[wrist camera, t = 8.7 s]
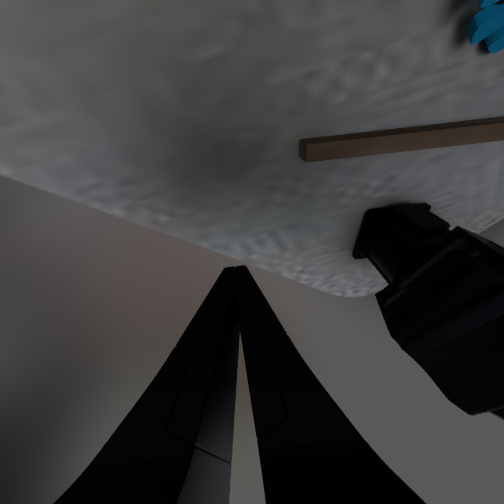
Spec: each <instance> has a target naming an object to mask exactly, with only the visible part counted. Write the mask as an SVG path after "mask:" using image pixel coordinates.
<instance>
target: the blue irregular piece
mask: <svg viewBox="0 0 504 504" xmlns="http://www.w3.org/2000/svg"><path fill="white" fill-rule="evenodd" d="M497 1H499V0H478V2H479V5H480V7H481V8H484V9H482V10H481V11H480V12H478V13H477V14H476V15H475V16H474V17H473V19H472V20H471V22H470V25H469V28H468V36H469V39H470V42H471V45H472V44H475V43H478V42H479V41H481V40H483V39H484V38H485V41H486V44H487V47H488V50H489V51H490V52H492V53H496V52H498V51H500V50H501V49H503V48H504V4H501V5H499V4H494V3H496V2H497ZM492 4H494V5H492ZM485 7H486V8H485Z"/></svg>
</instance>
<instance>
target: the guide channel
mask: <svg viewBox="0 0 504 504" xmlns="http://www.w3.org/2000/svg"><path fill="white" fill-rule="evenodd" d="M501 140H504V117H496V118H487V119H479V120H470V121H461V122H452V123H443V124H434V125H425V126H416V127H408V128H399V129H390V130H381V131H372V132H363V133H354V134H345V135H336V136H328V137H319V138H310V139H301V140H300V148H299V156H300V157H301V158H302V159H303V160H304V161H305V162H313V161H322V160H331V159H340V158H349V157H357V156H366V155H375V154H384V153H393V152H402V151H411V150H420V149H429V148H438V147H447V146H456V145H465V144H474V143H483V142H492V141H501Z"/></svg>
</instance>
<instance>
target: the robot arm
mask: <svg viewBox="0 0 504 504" xmlns="http://www.w3.org/2000/svg"><path fill="white" fill-rule="evenodd" d="M430 209H431V206H430V205H429V204H427V203H423V204H417V203H414V204H405V205H395V206H391V207H387V208H377V209H370V210H368V211H367V212H366V213H365V216H364V219H363V222H362V225H361V228H360V232H359V235H358V238H357V241H356V244H355V247H354V251H353V254H352V256H353V257H354V259H362V258H368V259H369V260H370V261H371V263H372V264H373V265H374V266H375V268H376V269H377V270H378V271H379V273H380V274H381V275H382V276H383V278H384V279H385V280H386V281H387V283H388V284H389V285H388V286H386V287H385V288H384V289H383V290H382V291H379V292H378V293H376V294H375V296H376V299H377V302H378V304H379V307H380V310H381V312H382V315H383V318H384V320H385V323H386V325H387V328H388V330H389V332H390V335H391V337H392V338H393V339H394V340H395V341H396V342H397V343H398V344H399V345H400V347H401V349H402V350H403V351H405V352H406V353H407V354H408V355H409V356H411V357H412V358H413V359H414V360H415V361H416V362H417V363H418V364H419V365H420V366H421V367H422V368H423V369H424V370H425V371H426V373H427V374H428V375H429V376H430V377H431V379H432V380H433V381H434V382H435V384H436V385H437V386H438V388H439V389H440V390H441V391H442V393H443V394H444V395H445V396H446V398H447V399H448V400H449V401H451V402H452V403H453V404H455V405H456V406H458V407H459V408H460V409H462V410H463V411H464V412H466V413H467V414H469V415H477V414H481V413H485V412H490V413H492V414H494V415H496V416H498V417H499V418H501V419H503V420H504V248H503V247H502V246H500V245H498V244H496V243H494V242H493V241H491V240H488V239H486V238H484V237H482V236H479V235H477V234H475V233H473V232H470V231H468V230H466V229H464V228H462V227H459V226H456V227H455V228H454V229H453V230H452V231H451V230H449V227H450V225H449V223H448V222H446V221H444V220H443V219H441V218H440V217H438V216H436V215H435V214H433V213H431V212H430ZM370 214H372V215H370ZM240 333H241V339H242V346H243V352H244V359H245V365H246V372H247V378H248V384H249V391H250V397H251V404H252V410H253V417H254V423H255V430H256V436H257V439H258V440H257V443H258V449H259V456H260V463H261V469H262V477H263V485H264V492H265V500H266V504H426V503H425V502H424V501H423V500H422V499H421V498H420V497H419V496H418V495H417V494H416V493H415V492H414V491H413V490H412V489H411V488H410V487H409V486H408V485H407V484H406V483H405V482H404V481H403V480H401V479H400V478H399V476H397V475H396V474H395V473H394V472H393V471H392V470H391V469H390V468H389V467H388V466H387V465H386V464H385V463H384V462H383V460H382V459H381V458H380V457H379V456H378V455H377V454H376V452H375V451H374V450H373V449H372V448H371V447H370V446H369V444H368V443H367V442H366V441H365V440H364V438H363V437H362V436H361V435H360V434H359V432H358V431H357V430H356V429H355V427H354V426H353V425H352V423H351V422H350V421H349V419H348V418H347V417H346V416H345V414H344V413H343V412H342V410H341V409H340V408H339V407H338V405H337V404H336V403H335V402H334V400H333V399H332V397H331V396H330V395H329V394H328V392H327V391H326V390H325V388H324V387H323V386H322V385H321V383H320V382H319V381H318V379H317V378H316V377H315V375H314V374H313V372H312V371H311V370H310V368H309V367H308V365H307V364H306V363H305V361H304V360H303V358H302V357H301V356H300V354H299V352H298V351H297V349H296V348H295V346H294V344H293V343H292V341H291V339H290V338H289V336H288V335H287V333H286V331H285V330H284V328H283V326H282V325H281V323H280V321H279V320H278V318H277V316H276V315H275V313H274V311H273V310H272V308H271V306H270V305H269V303H268V301H267V300H266V298H265V297H264V295H263V293H262V291H261V290H260V288H259V286H258V285H257V283H256V282H255V280H254V278H253V277H252V275H251V273H250V272H249V270H248V268H247V267H246V266H245V265H242V266H236V267H234V266H233V267H226V268H224V269H223V271H222V273H221V274H220V276H219V277H218V279H217V280H216V282H215V284H214V285H213V287H212V288H211V290H210V292H209V293H208V295H207V296H206V298H205V300H204V301H203V303H202V305H201V306H200V307H199V309H198V311H197V312H196V314H195V316H194V317H193V319H192V320H191V322H190V323H189V325H188V327H187V328H186V330H185V331H184V333H183V335H182V336H181V338H180V339H179V341H178V343H177V344H176V346H177V347H174V349H173V350H172V352H171V353H170V355H169V357H168V358H167V360H166V361H165V363H164V364H163V366H162V367H161V369H160V371H159V372H158V373H157V375H156V376H155V378H154V379H153V381H152V382H151V383H150V385H149V386H148V387H147V389H146V390H145V392H144V393H143V394H142V396H141V397H140V398H139V400H138V401H137V402H136V404H135V405H134V406H133V408H132V409H131V410H130V412H129V413H128V414H127V416H126V417H125V419H124V420H123V421H122V422H121V424H120V425H119V426H118V428H117V429H116V430H115V432H114V433H113V434H112V436H111V437H110V438H109V440H108V441H107V442H106V444H105V445H104V446H103V448H102V449H101V450H100V452H99V453H98V454H97V455H96V457H95V458H94V460H93V461H92V462H91V463H90V464H89V466H88V467H87V468H86V469H85V470H84V472H83V473H82V474H81V475H80V476H79V477H78V478H77V480H76V481H75V482H74V483H73V484H72V485H71V486H70V487H69V488H68V489H67V490H66V491H65V492H64V493H63V494H62V495H61V496H60V498H58V500H56V501H55V502H54V503H53V504H229V493H230V478H231V477H230V476H231V461H232V446H233V431H234V414H235V400H236V384H237V368H238V352H239V338H240Z"/></svg>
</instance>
